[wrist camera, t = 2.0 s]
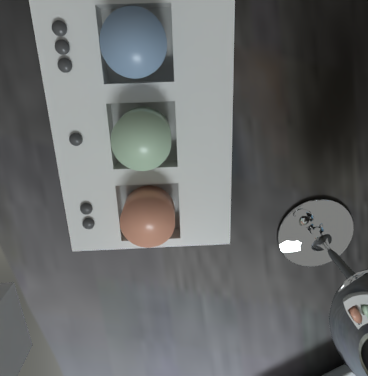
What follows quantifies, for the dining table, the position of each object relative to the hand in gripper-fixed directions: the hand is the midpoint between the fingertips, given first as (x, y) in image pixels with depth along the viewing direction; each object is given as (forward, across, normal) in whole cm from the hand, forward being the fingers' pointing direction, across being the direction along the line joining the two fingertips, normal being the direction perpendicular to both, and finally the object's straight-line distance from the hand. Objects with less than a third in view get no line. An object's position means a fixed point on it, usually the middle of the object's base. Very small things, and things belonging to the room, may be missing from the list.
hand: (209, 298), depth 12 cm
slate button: (+17, -3, +9) cm, 20 cm away
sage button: (+17, -3, +2) cm, 18 cm away
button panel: (+20, -3, +2) cm, 20 cm away
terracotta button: (+17, -3, -4) cm, 18 cm away
